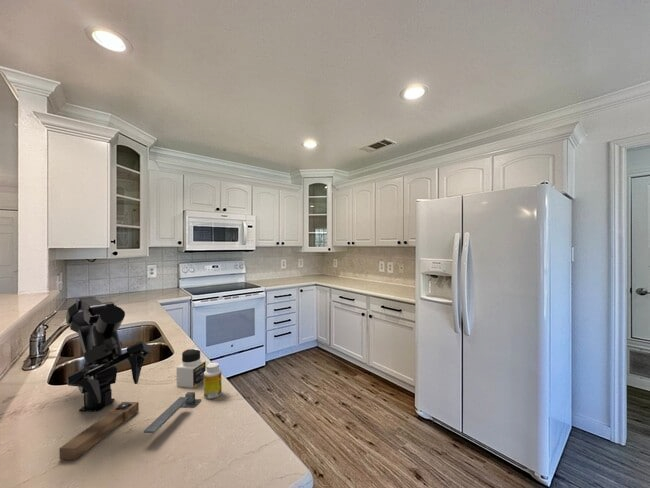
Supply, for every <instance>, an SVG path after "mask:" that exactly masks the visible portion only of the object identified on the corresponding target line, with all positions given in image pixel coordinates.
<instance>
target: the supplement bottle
mask: <svg viewBox="0 0 650 488" xmlns="http://www.w3.org/2000/svg"><path fill="white" fill-rule="evenodd" d="M222 391H223V390H222V369H221V368H220V364H219V363H218V362H211V363H208V364H206V371H205V372H204V380H203V396H204V398H205V399H208V400H211V399H216V398H218V397H220V395H221V394H222Z"/></svg>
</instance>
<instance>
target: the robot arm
mask: <svg viewBox="0 0 650 488" xmlns="http://www.w3.org/2000/svg"><path fill="white" fill-rule="evenodd" d="M65 314H66V315H65V322H66V324H67V325H68V326H69V329H70V331H73V332H75V333H77V336H78V338H79V339H78V340H79V342H80V346H81V351H82V355H83V358H84V364H83V366H82V368H80V369H78V370H77V371H74V372H72V373H70V374H69V375H68V376H67V378H66V381H67V386H68V387H69V386H70V387H78V390H79V392H80V393H81V394H83V406H82V407H81V408H79V409H78V411H79V412H95V413H96V412H99V411H101V410H102V409H105V407H107V406H109V405H111V403H113V402H114V401H115V400H116V399H115V398H112V395H113V393H112V389H111V388H112V387H111V385H114V384H116V381H117V375H118V374H117V373H118V370H119V369H118V367H116V365H119V364H122V363H123V362H125V361H127V360H128V362H129V364H130V370H131V376H132V380H133V384H135V385H136V384H138V383H139V379H140V376H141V371H142V367H143V365H144V362H145V359H146V360H147V358H148V355H150V354H152V349H151V346H150V345H149V344H147V343H146V342H144V341H143V342H142V341H137V342H136V343H134V344H131V345H129V346H127V347H126V352H124V353H123V350H122V346H123V342H122V341H120V337H119V334H118V330H119V329H120V327H121V325H122V323H123V321H124V319H125V316H126V312H125V310H123V308H121V307H119V306H117V305H116V304H115V302H113V301H108V302H107V301H105V302H102V301H100V300H98V299H97V298H96V296H86V297H79V298H76V300H75V303H73V304H72V305H70V306H69V307H68V308H67V311H66V313H65Z"/></svg>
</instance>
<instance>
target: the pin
mask: <svg viewBox="0 0 650 488" xmlns="http://www.w3.org/2000/svg"><path fill="white" fill-rule="evenodd" d="M125 402H126V403H122V404H120V403H119V404H120V405H119V404H118V405H119V406H118V408H120V410H126V409H127V408H128V406H129V403H128V402H129V401H125Z"/></svg>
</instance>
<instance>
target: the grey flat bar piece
mask: <svg viewBox="0 0 650 488" xmlns="http://www.w3.org/2000/svg"><path fill="white" fill-rule="evenodd" d="M184 395H185V396H179V398H177V399H176V400H175V401H174V402H173V403H172V404H171V405H169V407H168V408H167V409H165V410H164V411H163V412H162V413H161V414H160V415H159V416H158V417H156V419H155V420H154V421H153V422H151V424H149V425H148V426H147V427H146V428H145V429H144V430H143V434H155V433H157V431H158V430H159V429H160V428H161V427H162V426H163V425H165V423H167V421H168V420H170V419H171V418H172V417H173V415H175V414H176V412H177V411H178V410H180V408H194V409H195V408H196V407H197V405H199V403H201V401H202V398H201V399H200V398H196V392H193V391H187V392H186V393H185V394H184Z"/></svg>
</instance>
